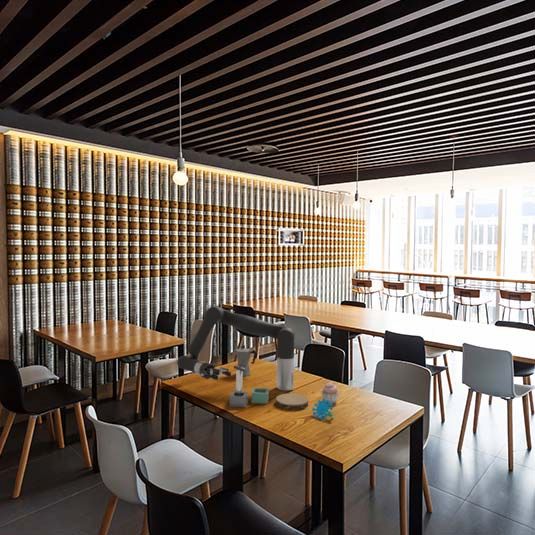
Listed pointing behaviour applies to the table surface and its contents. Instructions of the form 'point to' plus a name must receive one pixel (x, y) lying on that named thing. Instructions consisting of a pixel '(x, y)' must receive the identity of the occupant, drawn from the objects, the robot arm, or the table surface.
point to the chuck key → (239, 379)
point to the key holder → (260, 395)
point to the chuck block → (238, 399)
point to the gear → (323, 409)
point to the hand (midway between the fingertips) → (224, 376)
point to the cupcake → (330, 392)
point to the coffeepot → (245, 359)
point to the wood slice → (292, 401)
